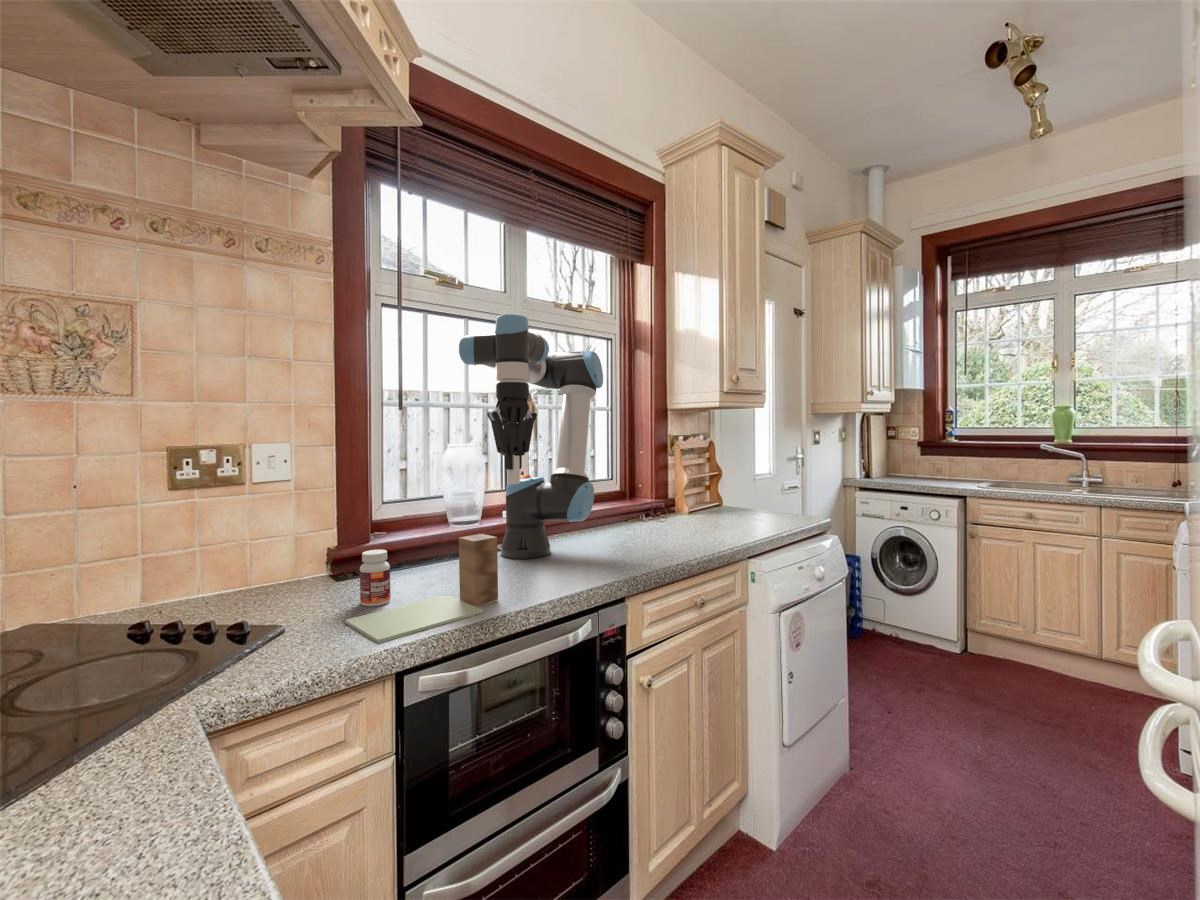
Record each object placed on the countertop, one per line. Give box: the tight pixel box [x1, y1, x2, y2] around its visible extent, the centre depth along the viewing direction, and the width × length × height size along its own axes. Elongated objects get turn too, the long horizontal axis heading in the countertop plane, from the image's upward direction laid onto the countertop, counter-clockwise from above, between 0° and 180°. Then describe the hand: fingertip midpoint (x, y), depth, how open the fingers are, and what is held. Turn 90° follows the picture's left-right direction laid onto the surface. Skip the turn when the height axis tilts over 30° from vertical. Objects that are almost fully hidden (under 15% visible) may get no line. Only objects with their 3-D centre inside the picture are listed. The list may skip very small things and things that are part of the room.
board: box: [344, 594, 484, 644], centre depth 110 cm, size 22×15×1 cm
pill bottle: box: [359, 549, 391, 608], centre depth 119 cm, size 6×6×11 cm
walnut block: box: [458, 533, 499, 607], centre depth 120 cm, size 6×6×14 cm
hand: (513, 483), depth 127 cm, fingers closed
